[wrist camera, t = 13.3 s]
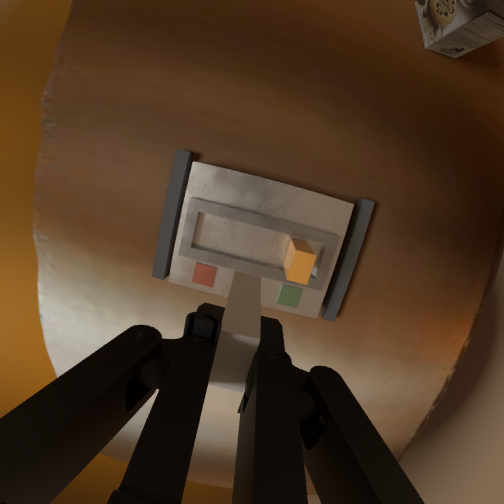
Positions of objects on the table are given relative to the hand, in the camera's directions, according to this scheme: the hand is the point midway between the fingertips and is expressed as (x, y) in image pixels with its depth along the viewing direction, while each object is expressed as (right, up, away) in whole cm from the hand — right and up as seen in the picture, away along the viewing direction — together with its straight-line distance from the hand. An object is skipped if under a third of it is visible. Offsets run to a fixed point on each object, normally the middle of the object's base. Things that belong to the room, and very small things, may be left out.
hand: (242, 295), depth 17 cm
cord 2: (+13, +2, +20) cm, 24 cm away
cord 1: (-9, +7, +19) cm, 22 cm away
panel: (+1, +4, +20) cm, 20 cm away
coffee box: (+28, +35, +11) cm, 46 cm away
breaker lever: (+5, +2, +16) cm, 17 cm away
